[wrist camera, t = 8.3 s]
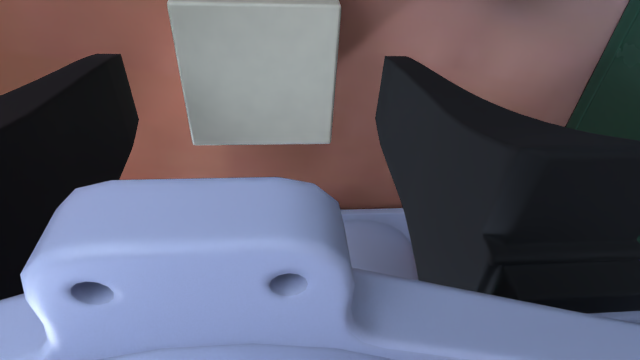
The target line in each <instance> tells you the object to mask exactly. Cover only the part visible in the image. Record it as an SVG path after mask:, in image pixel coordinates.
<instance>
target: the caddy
mask: <svg viewBox="0 0 640 360" xmlns="http://www.w3.org/2000/svg"><path fill="white" fill-rule="evenodd" d="M566 127H567V128H571V129H575V130H580V131H584V132H589V133H594V134H600V135H607V136H613V137H619V138H626V139H632V140H639V141H640V0H630V1H629V3H628V5H627V7H626V9H625V11H624V13H623V15H622V17H621V19H620V21H619V23H618V25H617V27H616V29H615V31H614V33H613V34H612V36H611V38H610V40H609V42H608V44H607V46H606V48H605V50H604V52H603V54H602V56H601V58H600V60H599V62H598V64H597V66H596V68H595V70H594V72H593V74H592V76H591V78H590V80H589V82H588V84H587V86H586V88H585V90H584V92H583V94H582V96H581V98H580V100H579V102H578V104H577V106H576V108H575V110H574V111H573V113H572V115H571V117H570V119H569V121H568V123H567V125H566ZM636 240H637V241H638V242H639V243H640V235H639V236H638V238H637V239H636Z"/></svg>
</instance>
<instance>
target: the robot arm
mask: <svg viewBox="0 0 640 360" xmlns="http://www.w3.org/2000/svg"><path fill="white" fill-rule="evenodd" d="M375 119H376V125H377V130H378V136H379V140H380V145H381V148H382V151H383V154H384V156H385V159H386V162H387V165H388V168H389V170H390V173H391V176H392V178H393V181H394V184H395V187H396V189H397V192H398V195H399V197H400V200H401V203H402V207H403V208H388V209H349V210H340V207H339V203H338V201H336V200H335V199H334V198H332V197H331V196H330V195H329V194H327V193H326V192H325V191H323V190H322V189H321V188H319V187H318V186H317V185H315V184H314V183H308V182H303V181H297V180H292V179H286V178H281V177H252V178H199V179H147V180H119V178H120V176H121V174H122V171H123V169H124V167H125V164H126V162H127V160H128V157H129V155H130V152H131V150H132V147H133V143H134V139H135V135H136V130H137V126H138V121H139V119H138V115H137V111H136V108H135V104H134V100H133V97H132V93H131V90H130V86H129V82H128V79H127V75H126V71H125V68H124V64H123V61H122V57H121V54H95V55H91V56H88V57H85V58H83V59H80V60H78V61H76V62H74V63H71V64H69V65H67V66H65V67H63V68H61V69H59V70H57V71H55V72H53V73H50V74H48V75H46V76H44V77H42V78H40V79H38V80H36V81H33V82H31V83H29V84H27V85H24V86H22V87H20V88H17V89H15V90H13V91H11V92H8V93H6V94H4V95H1V96H0V360H640V261H639V260H640V243H639V242H638V241H637V240H636V239H637V238H638V236H639V235H640V141H639V140H632V139H626V138H619V137H613V136H607V135H600V134H594V133H589V132H584V131H580V130H575V129H571V128H567V127H562V126H558V125H555V124H551V123H547V122H543V121H540V120H537V119H534V118H531V117H528V116H524V115H521V114H518V113H516V112H513V111H510V110H508V109H505V108H503V107H500V106H498V105H496V104H493V103H491V102H488V101H486V100H484V99H482V98H480V97H478V96H476V95H474V94H472V93H470V92H468V91H466V90H464V89H462V88H461V87H459V86H457V85H455V84H454V83H452V82H450V81H448V80H447V79H445V78H443V77H442V76H440V75H439V74H437V73H435V72H434V71H432V70H430V69H429V68H427V67H426V66H424V65H422V64H421V63H419V62H417V61H415V60H413V59H411V58H409V57H406V56H385V59H384V66H383V72H382V78H381V85H380V91H379V98H378V104H377V111H376V117H375Z"/></svg>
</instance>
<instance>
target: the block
mask: <svg viewBox="0 0 640 360" xmlns="http://www.w3.org/2000/svg"><path fill="white" fill-rule="evenodd" d="M167 7H168V13H169V18H170V24H171V29H172V34H173V40H174V45H175V51H176V56H177V61H178V67H179V72H180V78H181V83H182V89H183V94H184V99H185V105H186V110H187V116H188V121H189V127H190V132H191V137H192V143H193V144H194V145H263V144H329V143H330V142H331V136H332V123H333V110H334V98H335V85H336V72H337V59H338V46H339V33H340V20H341V5H340V2H339V0H168V2H167Z"/></svg>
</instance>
